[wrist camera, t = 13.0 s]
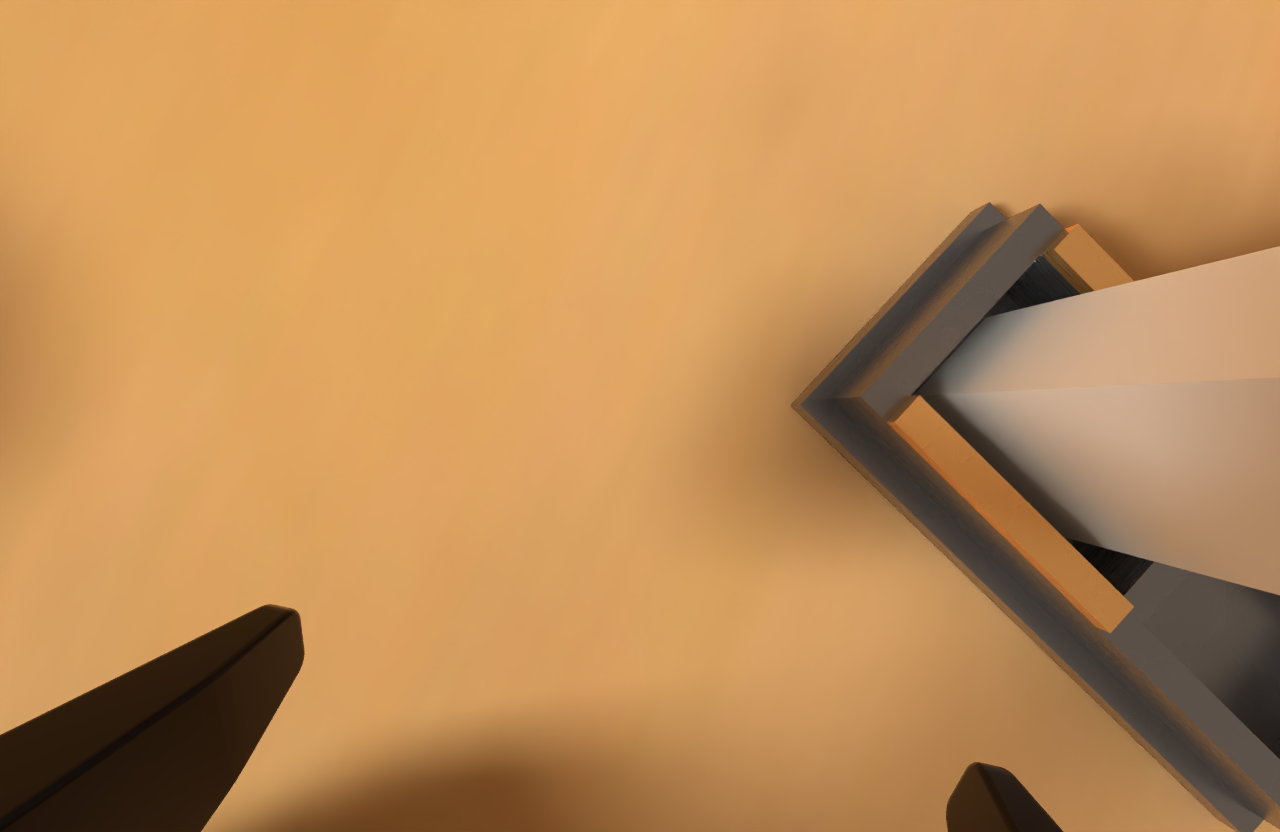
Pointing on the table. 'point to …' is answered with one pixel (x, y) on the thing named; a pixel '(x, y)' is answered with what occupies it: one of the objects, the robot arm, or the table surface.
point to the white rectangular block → (1139, 415)
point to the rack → (1033, 549)
